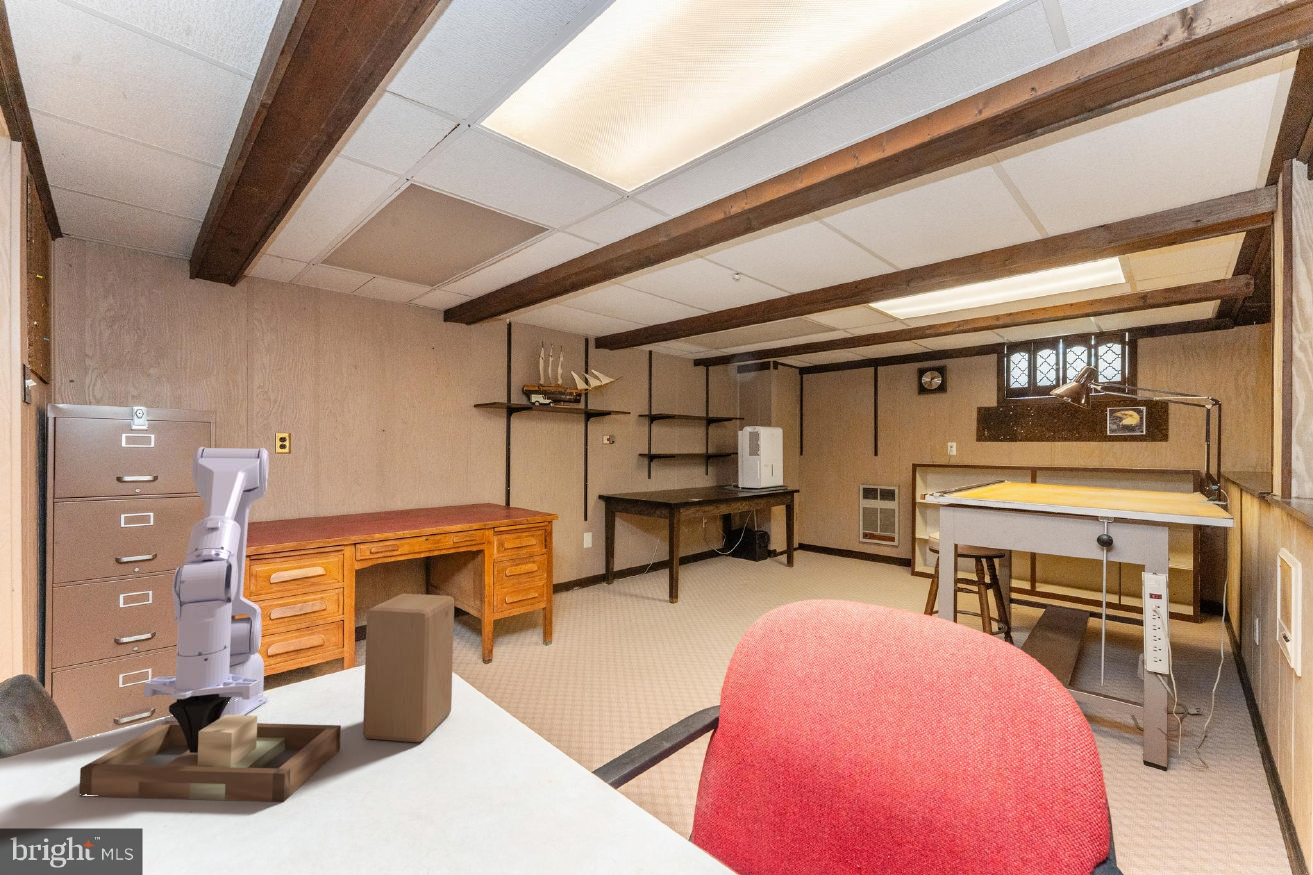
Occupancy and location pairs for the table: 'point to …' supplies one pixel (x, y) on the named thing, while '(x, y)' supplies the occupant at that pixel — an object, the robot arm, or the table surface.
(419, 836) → the table surface
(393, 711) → the wooden block
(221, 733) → the maple block
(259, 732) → the box
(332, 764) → the table surface
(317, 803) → the table surface
